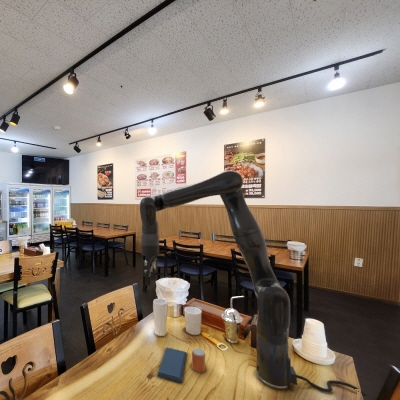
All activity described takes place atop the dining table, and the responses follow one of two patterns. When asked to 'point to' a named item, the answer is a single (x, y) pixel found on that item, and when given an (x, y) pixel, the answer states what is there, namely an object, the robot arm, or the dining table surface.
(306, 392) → the dining table surface
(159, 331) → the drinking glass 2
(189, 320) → the white cup
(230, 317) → the cup with straw
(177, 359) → the blue flat rectangular block
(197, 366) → the pill bottle
